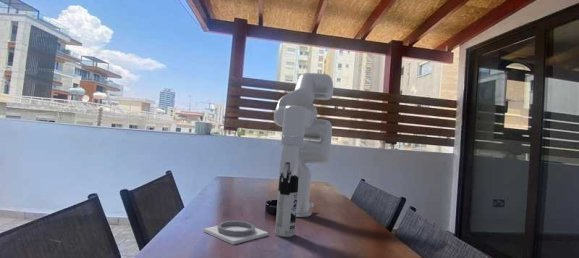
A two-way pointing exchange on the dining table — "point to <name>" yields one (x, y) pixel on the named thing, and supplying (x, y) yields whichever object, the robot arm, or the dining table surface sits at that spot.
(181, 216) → the dining table surface
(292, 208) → the spray can
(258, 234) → the collar plate
